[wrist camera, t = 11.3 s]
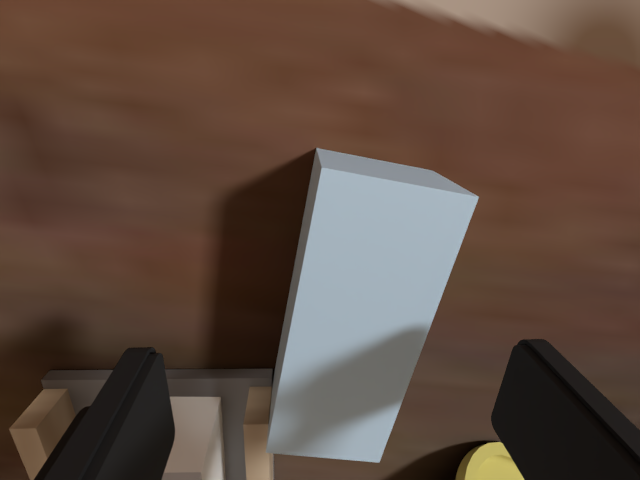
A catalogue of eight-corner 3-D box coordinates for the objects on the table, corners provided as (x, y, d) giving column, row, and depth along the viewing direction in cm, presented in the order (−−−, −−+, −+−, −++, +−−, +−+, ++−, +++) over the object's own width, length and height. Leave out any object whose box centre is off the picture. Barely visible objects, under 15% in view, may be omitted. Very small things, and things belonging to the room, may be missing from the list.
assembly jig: (272, 368, 16) (267, 415, 14) (274, 514, 21) (271, 569, 18) (49, 370, 16) (4, 419, 13) (98, 520, 20) (71, 579, 18)
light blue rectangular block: (430, 169, 13) (479, 196, 10) (362, 385, 17) (379, 462, 14) (315, 147, 13) (321, 167, 9) (273, 375, 17) (265, 452, 13)
